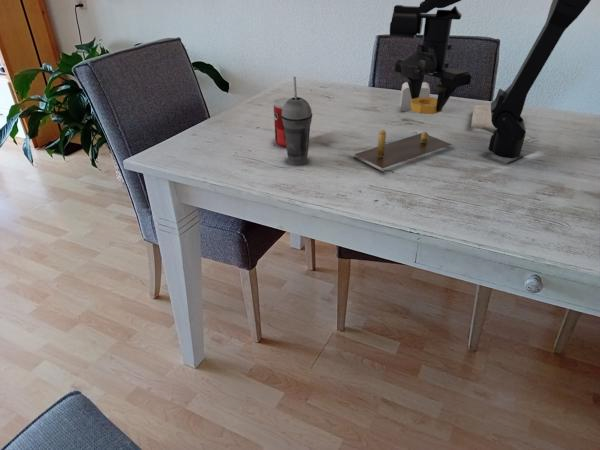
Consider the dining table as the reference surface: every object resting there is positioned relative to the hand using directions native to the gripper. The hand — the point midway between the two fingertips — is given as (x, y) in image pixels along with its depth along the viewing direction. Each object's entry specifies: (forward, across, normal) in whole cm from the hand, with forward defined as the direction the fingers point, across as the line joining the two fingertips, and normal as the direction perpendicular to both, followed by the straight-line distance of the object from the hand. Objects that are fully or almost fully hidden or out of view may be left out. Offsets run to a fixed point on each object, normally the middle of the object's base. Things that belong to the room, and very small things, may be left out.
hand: (426, 107), depth 111 cm
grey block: (+11, -24, +22) cm, 34 cm away
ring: (0, 0, 0) cm, 0 cm away
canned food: (+11, -23, -25) cm, 36 cm away
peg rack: (+11, 0, -6) cm, 12 cm away
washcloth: (+11, 0, +30) cm, 32 cm away
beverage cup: (+11, -12, -30) cm, 34 cm away
